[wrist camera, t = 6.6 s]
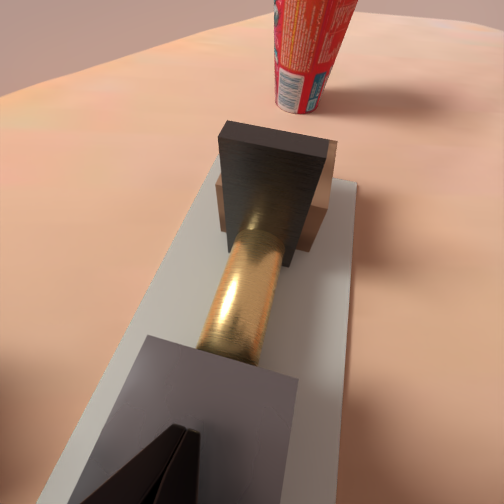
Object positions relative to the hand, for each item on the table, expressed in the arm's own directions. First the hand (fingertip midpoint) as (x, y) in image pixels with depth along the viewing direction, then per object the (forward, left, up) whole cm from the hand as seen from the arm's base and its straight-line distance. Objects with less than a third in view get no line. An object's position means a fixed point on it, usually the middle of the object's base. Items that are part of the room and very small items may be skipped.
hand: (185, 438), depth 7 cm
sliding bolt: (+6, -6, -6) cm, 10 cm away
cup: (+24, -22, -7) cm, 33 cm away
